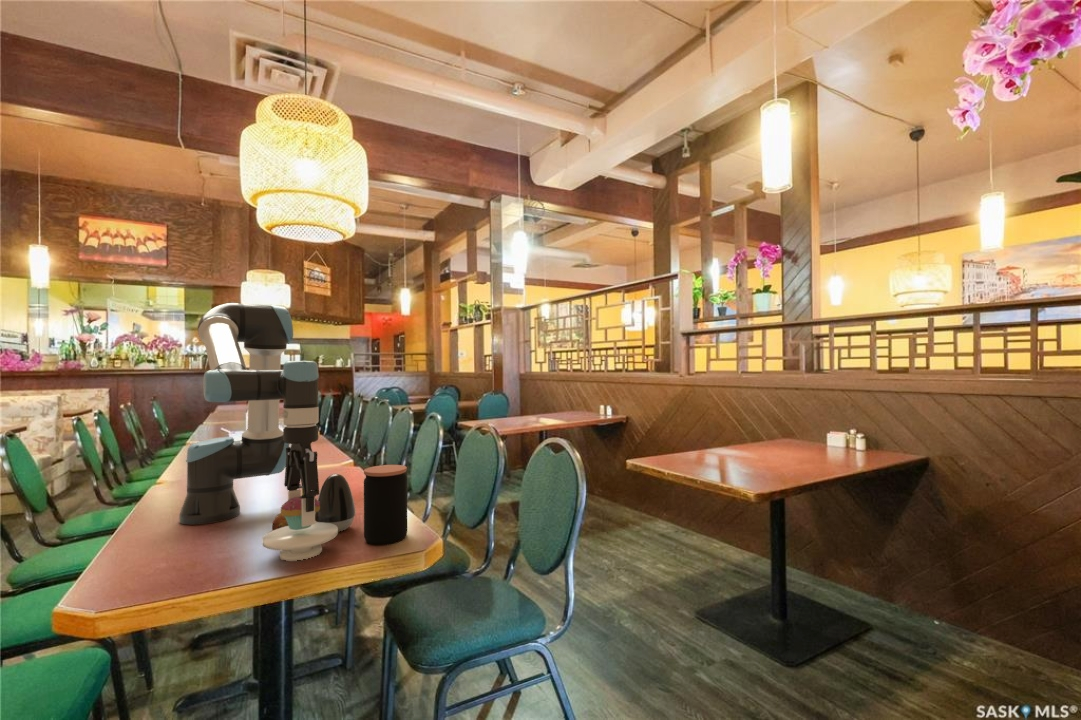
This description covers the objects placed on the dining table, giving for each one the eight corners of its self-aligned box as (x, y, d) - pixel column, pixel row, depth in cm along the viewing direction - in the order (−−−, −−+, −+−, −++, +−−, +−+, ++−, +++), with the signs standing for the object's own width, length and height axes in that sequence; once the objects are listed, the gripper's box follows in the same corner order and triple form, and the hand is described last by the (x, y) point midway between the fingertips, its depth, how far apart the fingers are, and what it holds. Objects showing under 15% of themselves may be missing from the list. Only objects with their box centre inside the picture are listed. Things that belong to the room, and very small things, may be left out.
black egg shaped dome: (354, 522, 141) (354, 468, 141) (356, 532, 131) (356, 475, 131) (315, 527, 137) (315, 472, 137) (314, 538, 127) (314, 479, 127)
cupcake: (290, 521, 120) (290, 472, 121) (326, 520, 121) (325, 471, 121) (273, 533, 112) (273, 480, 112) (312, 532, 112) (312, 479, 113)
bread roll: (316, 540, 137) (322, 510, 140) (296, 535, 128) (304, 503, 131) (282, 539, 138) (290, 510, 141) (260, 534, 129) (269, 503, 132)
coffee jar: (416, 536, 128) (415, 467, 128) (382, 549, 119) (382, 474, 119) (389, 529, 133) (388, 463, 134) (355, 541, 125) (354, 470, 125)
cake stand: (253, 554, 116) (253, 533, 116) (322, 537, 127) (322, 518, 128) (275, 573, 105) (275, 550, 105) (349, 553, 116) (349, 532, 116)
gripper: (269, 423, 122) (269, 515, 121) (300, 430, 107) (300, 535, 106) (301, 421, 127) (301, 509, 126) (335, 427, 112) (335, 527, 112)
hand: (301, 521), depth 116 cm, fingers closed on cupcake, 8 cm apart
